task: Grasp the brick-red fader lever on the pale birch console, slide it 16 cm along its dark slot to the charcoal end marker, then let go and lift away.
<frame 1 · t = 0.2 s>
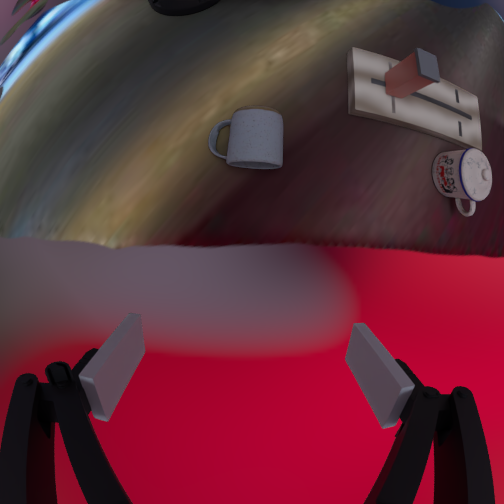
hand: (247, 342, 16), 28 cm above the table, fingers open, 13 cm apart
ceramic mug: (245, 144, 40), on the table
console: (420, 102, 38), on the table
fader tab: (409, 75, 29), point 9 cm above the table, slide at 0.0 cm
teacup with lid: (447, 181, 41), on the table
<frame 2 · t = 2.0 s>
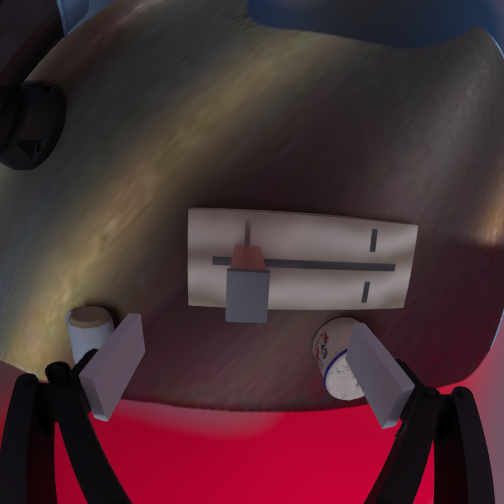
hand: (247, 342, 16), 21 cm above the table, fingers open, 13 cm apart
ceramic mug: (96, 326, 38), on the table
console: (306, 258, 36), on the table
fader tab: (246, 277, 27), point 9 cm above the table, slide at 0.0 cm
teacup with lid: (338, 347, 40), on the table
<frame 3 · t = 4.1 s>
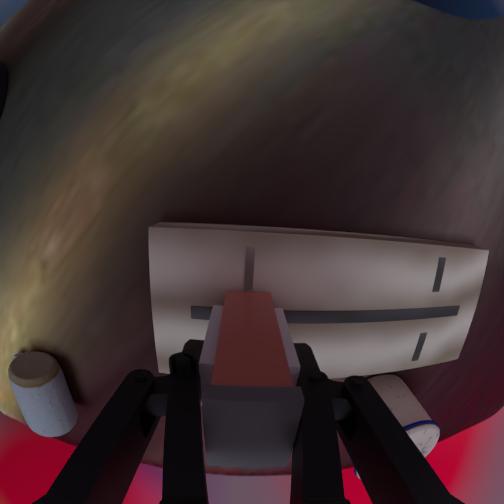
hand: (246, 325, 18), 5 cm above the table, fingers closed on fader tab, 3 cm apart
ceramic mug: (49, 374, 25), on the table
console: (339, 301, 23), on the table
fader tab: (247, 362, 14), point 9 cm above the table, slide at 0.0 cm, touching gripper
teacup with lid: (369, 408, 26), on the table
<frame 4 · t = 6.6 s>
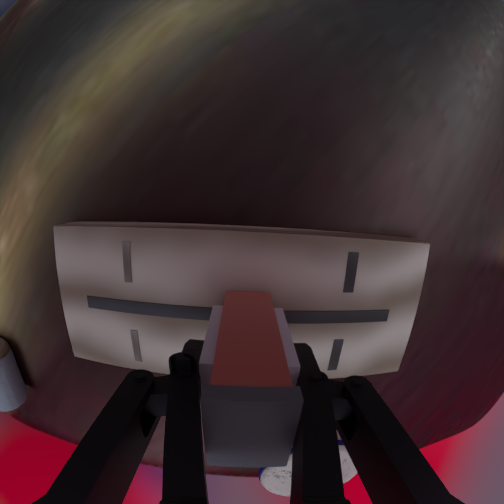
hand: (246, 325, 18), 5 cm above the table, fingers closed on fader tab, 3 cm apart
ceramic mug: (7, 358, 24), on the table
console: (237, 299, 22), on the table
fader tab: (247, 362, 14), point 9 cm above the table, slide at 8.7 cm, touching gripper
teacup with lid: (298, 416, 26), on the table
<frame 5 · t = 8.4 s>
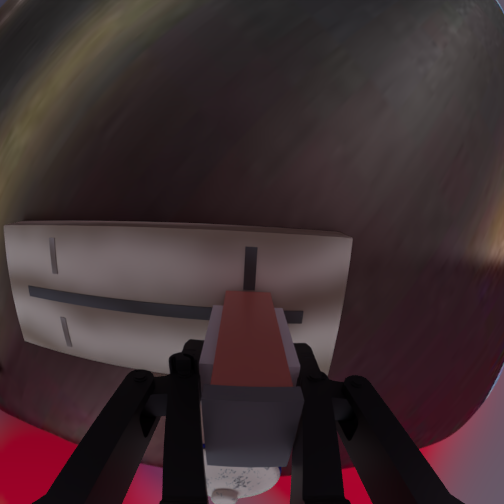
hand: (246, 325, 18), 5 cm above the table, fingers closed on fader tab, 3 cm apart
console: (152, 293, 22), on the table
fader tab: (247, 362, 14), point 9 cm above the table, slide at 15.9 cm, touching gripper
teacup with lid: (231, 416, 26), on the table
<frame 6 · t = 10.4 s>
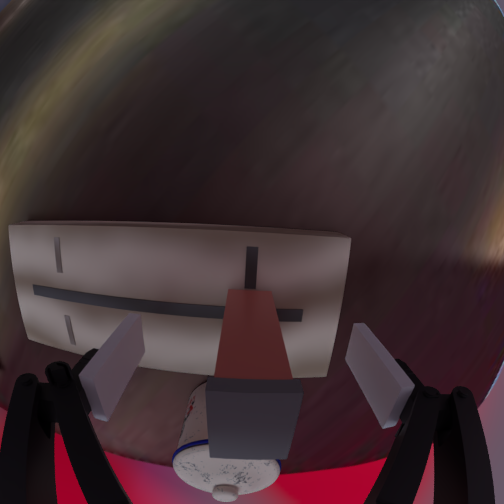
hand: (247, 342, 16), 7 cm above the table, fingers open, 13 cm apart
console: (155, 292, 23), on the table
fader tab: (249, 358, 14), point 9 cm above the table, slide at 16.0 cm
teacup with lid: (232, 413, 26), on the table
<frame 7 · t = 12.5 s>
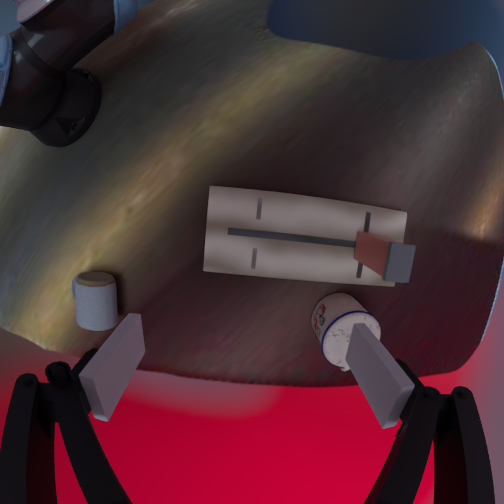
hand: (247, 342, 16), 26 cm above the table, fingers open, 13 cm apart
ceramic mug: (100, 292, 43), on the table
console: (308, 236, 41), on the table
fader tab: (380, 253, 33), point 9 cm above the table, slide at 16.0 cm
teacup with lid: (335, 322, 45), on the table
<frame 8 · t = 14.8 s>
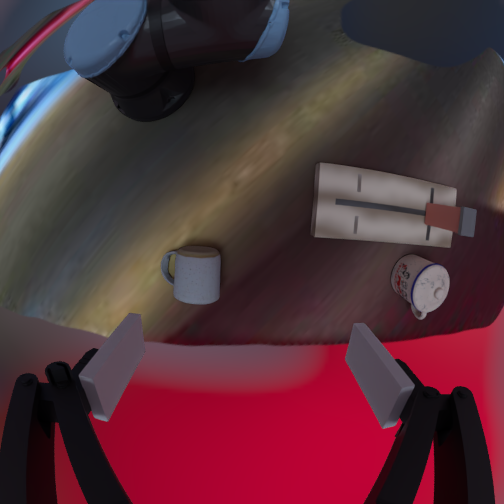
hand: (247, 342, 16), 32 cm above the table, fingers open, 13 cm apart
ceramic mug: (193, 267, 48), on the table
console: (389, 207, 46), on the table
fader tab: (448, 217, 38), point 9 cm above the table, slide at 16.0 cm
teacup with lid: (407, 281, 50), on the table
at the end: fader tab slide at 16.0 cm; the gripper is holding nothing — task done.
